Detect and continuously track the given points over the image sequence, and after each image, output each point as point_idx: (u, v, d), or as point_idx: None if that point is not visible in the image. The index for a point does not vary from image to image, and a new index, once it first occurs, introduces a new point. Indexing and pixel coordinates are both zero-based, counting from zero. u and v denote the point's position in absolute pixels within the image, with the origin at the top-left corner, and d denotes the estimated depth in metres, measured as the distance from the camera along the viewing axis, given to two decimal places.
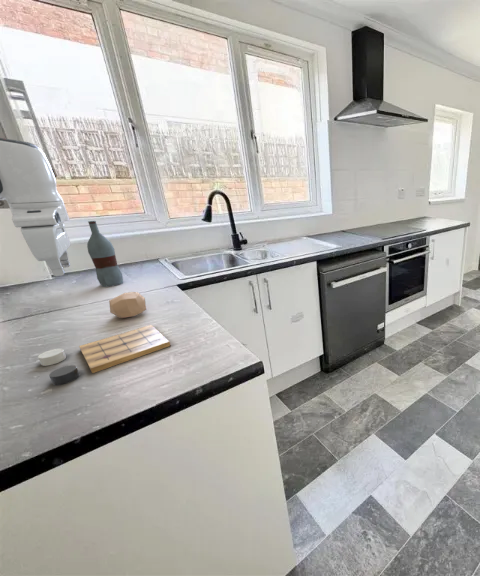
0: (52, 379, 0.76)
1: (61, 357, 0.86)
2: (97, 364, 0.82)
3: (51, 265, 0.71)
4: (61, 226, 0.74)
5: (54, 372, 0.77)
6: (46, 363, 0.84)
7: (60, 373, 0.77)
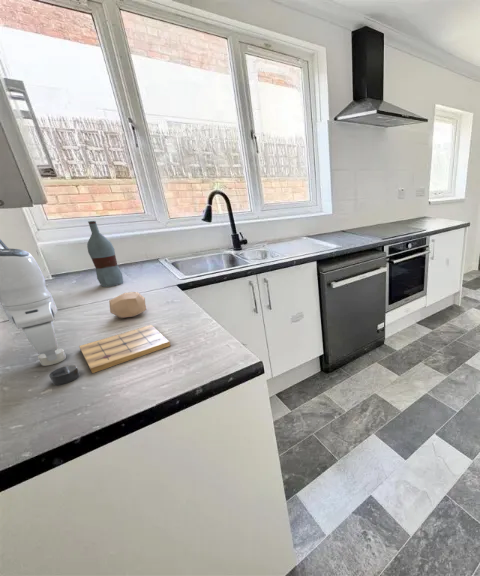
0: (52, 379, 0.76)
1: (61, 357, 0.86)
2: (97, 364, 0.82)
3: (46, 352, 0.82)
4: None
5: (54, 372, 0.77)
6: (46, 363, 0.84)
7: (60, 373, 0.77)
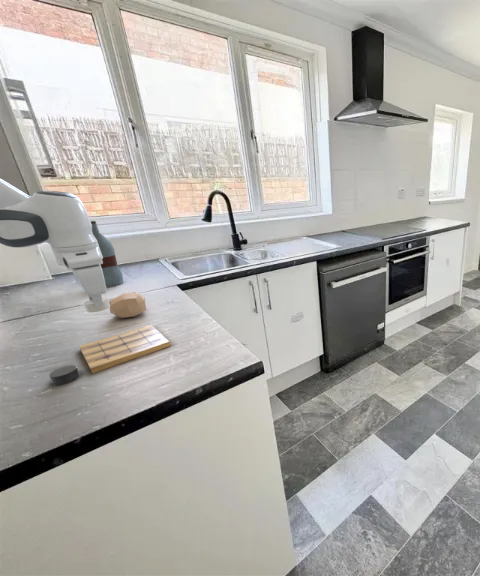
0: (52, 379, 0.76)
1: (106, 305, 0.86)
2: (97, 364, 0.82)
3: (94, 298, 0.82)
4: None
5: (54, 372, 0.77)
6: (92, 310, 0.84)
7: (60, 373, 0.77)
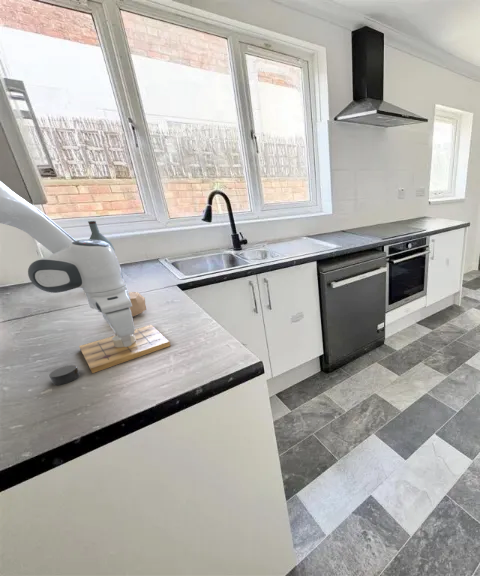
0: (52, 379, 0.76)
1: (132, 340, 0.92)
2: (97, 364, 0.82)
3: (123, 339, 0.86)
4: None
5: (54, 372, 0.77)
6: (120, 345, 0.90)
7: (60, 373, 0.77)
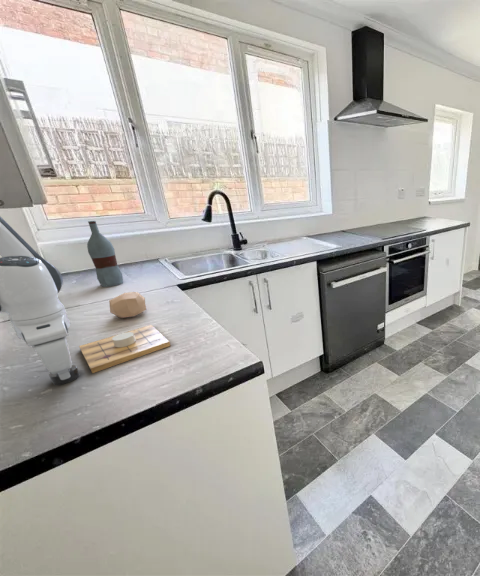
0: (52, 379, 0.76)
1: (132, 340, 0.92)
2: (97, 364, 0.82)
3: None
4: None
5: None
6: (120, 345, 0.90)
7: None
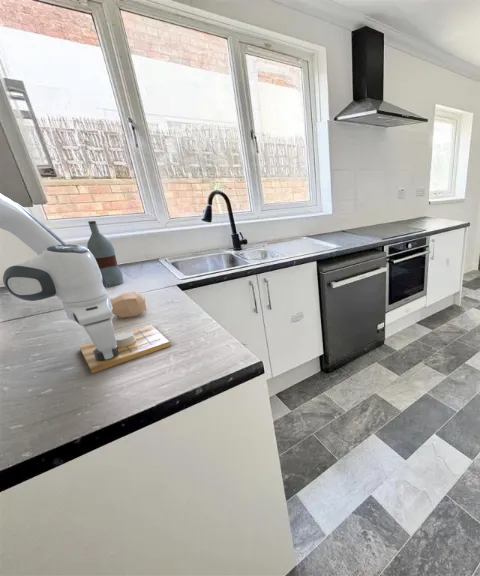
0: (96, 355, 0.83)
1: (132, 340, 0.92)
2: (97, 364, 0.82)
3: (104, 351, 0.80)
4: None
5: None
6: (120, 345, 0.90)
7: None
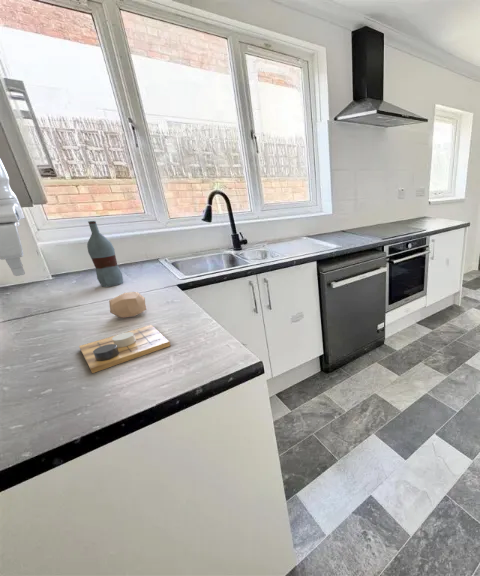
0: (96, 355, 0.83)
1: (132, 340, 0.92)
2: (97, 364, 0.82)
3: (11, 264, 0.69)
4: (17, 224, 0.71)
5: (97, 349, 0.84)
6: (120, 345, 0.90)
7: (102, 350, 0.84)
